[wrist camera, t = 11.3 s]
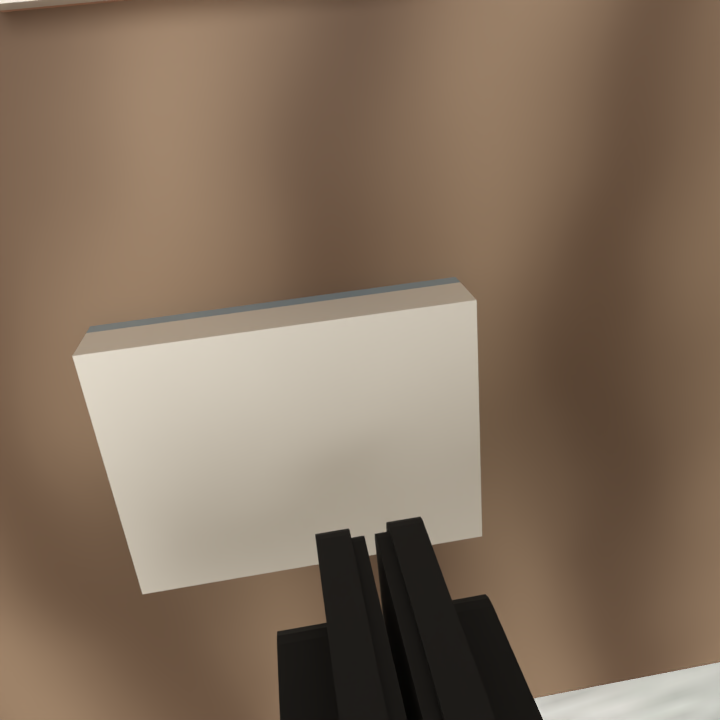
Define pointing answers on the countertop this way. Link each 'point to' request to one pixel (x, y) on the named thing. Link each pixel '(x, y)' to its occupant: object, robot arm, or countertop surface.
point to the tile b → (286, 427)
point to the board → (364, 271)
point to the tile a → (44, 4)
